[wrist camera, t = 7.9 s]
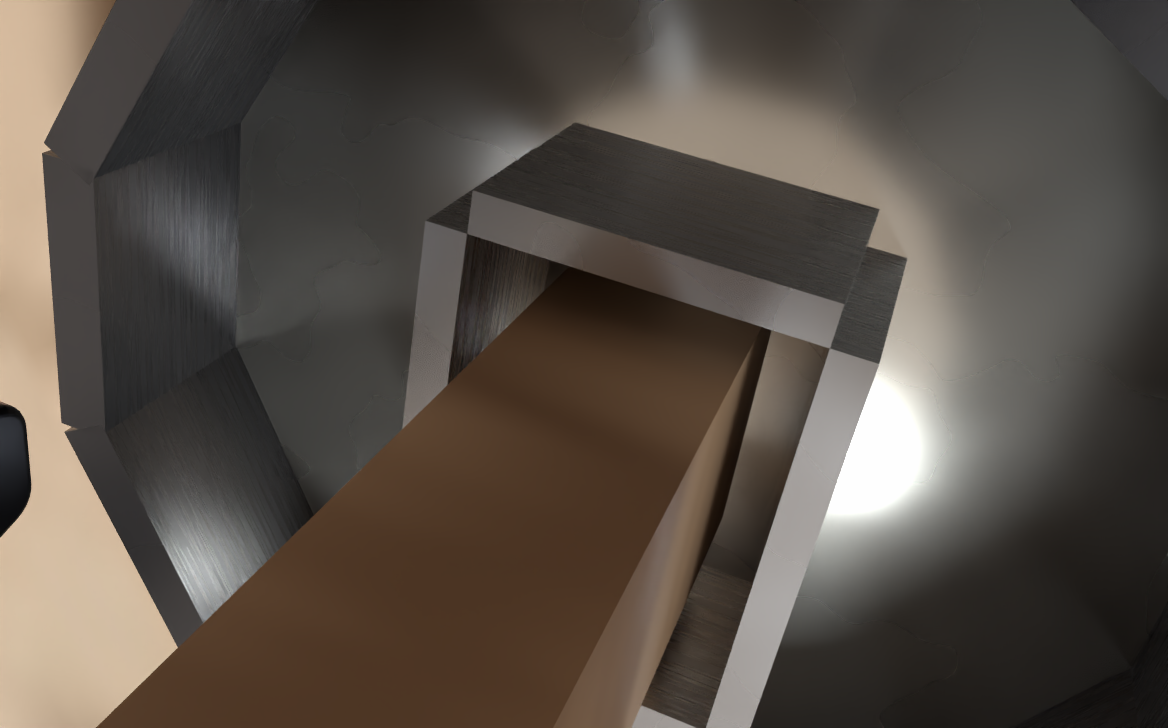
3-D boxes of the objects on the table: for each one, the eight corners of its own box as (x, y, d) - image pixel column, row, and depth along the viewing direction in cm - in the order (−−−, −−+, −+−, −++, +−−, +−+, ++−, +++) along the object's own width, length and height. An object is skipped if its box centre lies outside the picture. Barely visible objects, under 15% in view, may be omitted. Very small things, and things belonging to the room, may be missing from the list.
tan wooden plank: (564, 463, 13) (83, 1131, 6) (602, 234, 12) (37, 786, 5) (723, 516, 13) (386, 1292, 6) (784, 284, 11) (430, 964, 5)
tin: (220, 578, 17) (76, 714, 15) (235, -355, 11) (-10, -410, 8) (1025, 911, 14) (1025, 1151, 12) (1622, -81, 8) (1892, -39, 6)
